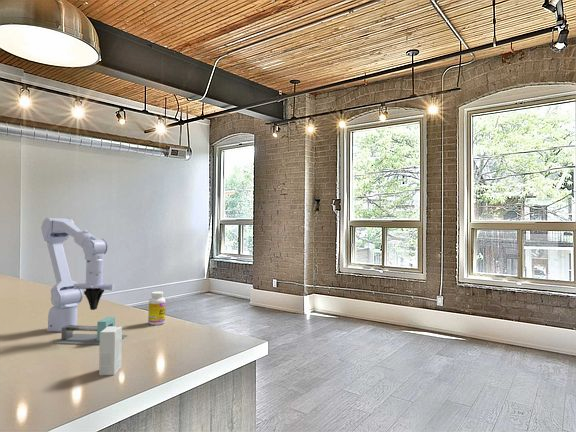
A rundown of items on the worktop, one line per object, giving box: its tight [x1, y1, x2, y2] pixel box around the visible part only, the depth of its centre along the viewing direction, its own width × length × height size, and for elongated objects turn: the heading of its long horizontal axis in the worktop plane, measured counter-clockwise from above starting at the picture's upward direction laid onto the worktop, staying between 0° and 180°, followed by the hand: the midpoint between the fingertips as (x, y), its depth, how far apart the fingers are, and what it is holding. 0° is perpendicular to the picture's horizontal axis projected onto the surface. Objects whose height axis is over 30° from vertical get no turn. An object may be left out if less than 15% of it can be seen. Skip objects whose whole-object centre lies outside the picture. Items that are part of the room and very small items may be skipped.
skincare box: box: [98, 325, 123, 376], centre depth 110 cm, size 6×4×12 cm
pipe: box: [60, 324, 123, 340], centre depth 139 cm, size 20×4×5 cm, turn 88°
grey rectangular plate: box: [53, 333, 128, 346], centre depth 139 cm, size 21×11×1 cm, turn 88°
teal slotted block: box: [96, 316, 116, 341], centre depth 139 cm, size 3×7×7 cm, turn 178°
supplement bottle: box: [147, 290, 166, 326], centre depth 163 cm, size 7×7×13 cm
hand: (93, 309), depth 144 cm, fingers closed
